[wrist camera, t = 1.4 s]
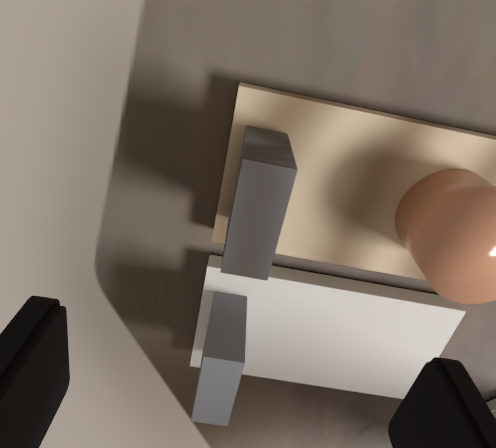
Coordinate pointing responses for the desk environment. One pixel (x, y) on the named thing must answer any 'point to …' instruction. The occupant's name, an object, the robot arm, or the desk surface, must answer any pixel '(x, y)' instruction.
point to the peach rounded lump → (452, 233)
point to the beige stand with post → (328, 181)
